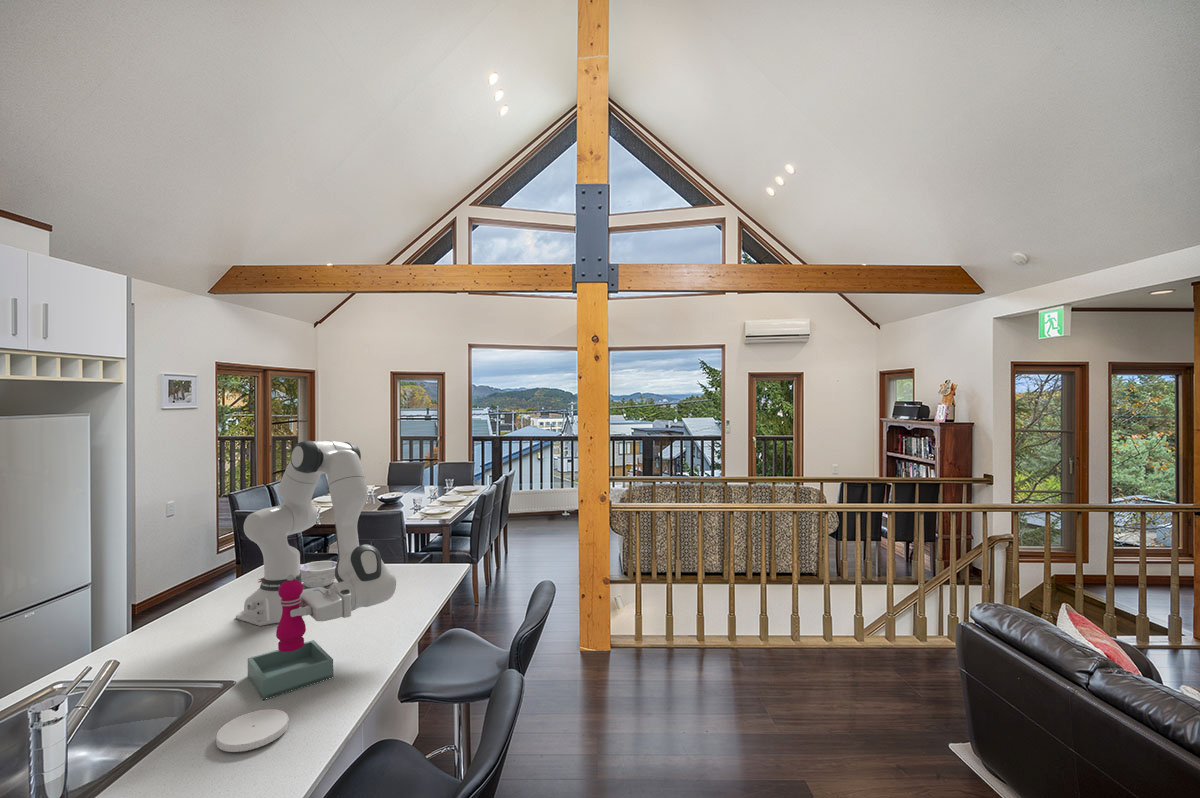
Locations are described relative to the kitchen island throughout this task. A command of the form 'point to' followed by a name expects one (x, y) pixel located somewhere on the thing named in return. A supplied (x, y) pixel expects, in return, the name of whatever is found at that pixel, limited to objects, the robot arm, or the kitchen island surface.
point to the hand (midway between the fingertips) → (287, 610)
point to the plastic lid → (252, 730)
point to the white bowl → (318, 573)
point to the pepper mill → (289, 626)
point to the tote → (289, 669)
